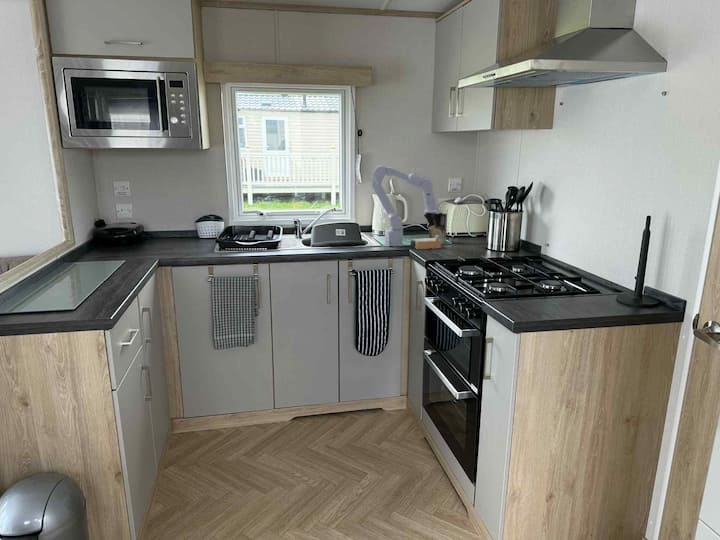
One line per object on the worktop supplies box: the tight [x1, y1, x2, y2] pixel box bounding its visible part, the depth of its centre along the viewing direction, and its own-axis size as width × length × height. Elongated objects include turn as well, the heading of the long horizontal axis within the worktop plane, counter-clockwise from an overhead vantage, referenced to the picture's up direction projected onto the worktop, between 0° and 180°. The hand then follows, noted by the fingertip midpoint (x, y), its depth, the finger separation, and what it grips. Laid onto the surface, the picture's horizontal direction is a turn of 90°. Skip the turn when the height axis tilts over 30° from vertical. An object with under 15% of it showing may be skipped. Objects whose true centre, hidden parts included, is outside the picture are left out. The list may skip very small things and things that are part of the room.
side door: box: [416, 235, 442, 250], centre depth 270 cm, size 14×2×7 cm, turn 109°
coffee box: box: [428, 212, 448, 244], centre depth 289 cm, size 9×6×16 cm
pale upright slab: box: [410, 237, 440, 250], centre depth 275 cm, size 15×7×4 cm, turn 109°
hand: (435, 226), depth 275 cm, fingers open, 7 cm apart
